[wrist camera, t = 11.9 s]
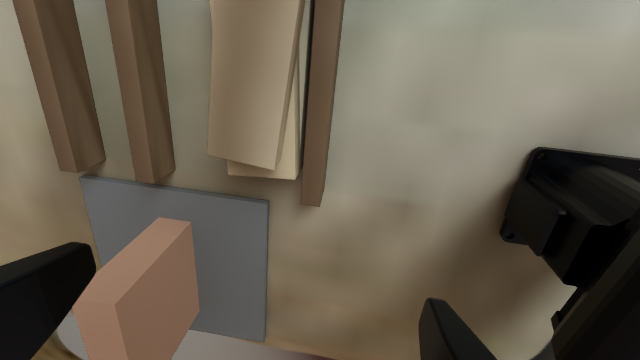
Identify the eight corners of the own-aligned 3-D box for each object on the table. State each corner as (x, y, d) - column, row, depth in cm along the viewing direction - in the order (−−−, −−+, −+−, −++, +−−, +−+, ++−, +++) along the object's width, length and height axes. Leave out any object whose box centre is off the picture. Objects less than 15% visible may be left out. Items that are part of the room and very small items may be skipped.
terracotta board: (191, 221, 23) (114, 304, 16) (199, 310, 27) (140, 409, 20) (159, 217, 23) (68, 297, 16) (171, 305, 27) (103, 402, 20)
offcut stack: (322, -54, 16) (308, -85, 12) (305, 166, 21) (291, 197, 17) (228, -61, 16) (184, -94, 12) (234, 156, 21) (204, 185, 17)
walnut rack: (354, -89, 15) (353, -111, 13) (324, 189, 21) (319, 207, 19) (27, -113, 16) (-26, -137, 14) (90, 157, 23) (60, 170, 20)
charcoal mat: (269, 200, 22) (267, 204, 22) (265, 337, 28) (263, 342, 28) (84, 174, 23) (79, 177, 23) (118, 312, 29) (114, 316, 29)
